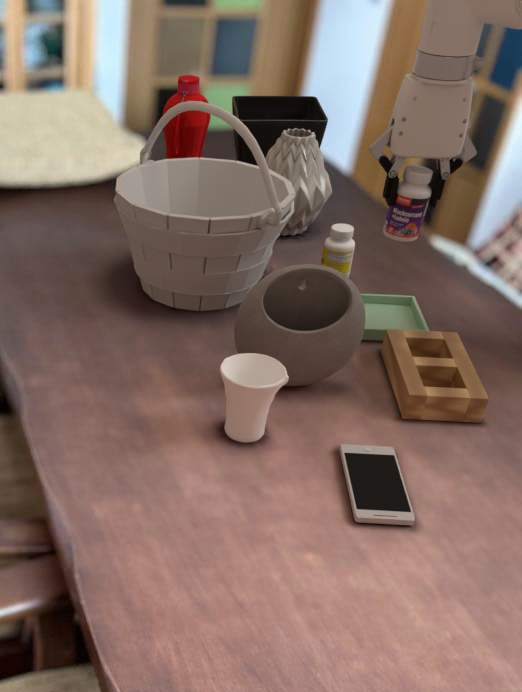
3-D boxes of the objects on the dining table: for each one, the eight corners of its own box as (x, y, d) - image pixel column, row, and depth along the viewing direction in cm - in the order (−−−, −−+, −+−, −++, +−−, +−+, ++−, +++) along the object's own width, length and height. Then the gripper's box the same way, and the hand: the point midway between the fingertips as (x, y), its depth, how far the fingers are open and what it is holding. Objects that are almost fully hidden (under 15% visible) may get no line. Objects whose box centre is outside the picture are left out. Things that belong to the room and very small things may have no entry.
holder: (450, 355, 132) (457, 332, 129) (480, 422, 117) (489, 398, 114) (380, 351, 132) (386, 328, 129) (402, 418, 118) (409, 394, 115)
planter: (229, 395, 122) (243, 273, 109) (226, 370, 127) (240, 252, 114) (354, 399, 121) (383, 278, 109) (347, 374, 126) (374, 256, 114)
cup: (265, 457, 110) (276, 392, 104) (202, 437, 114) (208, 373, 107) (288, 425, 116) (300, 362, 109) (228, 406, 119) (235, 344, 113)
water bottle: (151, 210, 177) (156, 80, 160) (168, 194, 184) (175, 68, 168) (191, 217, 174) (201, 86, 157) (207, 200, 182) (218, 73, 165)
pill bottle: (381, 239, 124) (400, 172, 118) (381, 226, 128) (399, 161, 122) (418, 245, 123) (439, 177, 117) (417, 232, 127) (437, 166, 121)
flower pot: (229, 200, 182) (237, 117, 171) (224, 172, 196) (231, 94, 185) (315, 202, 181) (329, 120, 170) (304, 174, 196) (316, 96, 184)
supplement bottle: (324, 271, 155) (333, 219, 148) (351, 278, 153) (363, 225, 146) (313, 282, 151) (323, 229, 145) (342, 289, 149) (353, 235, 143)
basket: (198, 235, 167) (211, 69, 147) (328, 299, 146) (364, 115, 126) (72, 272, 153) (68, 94, 133) (196, 348, 132) (213, 150, 112)
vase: (238, 238, 166) (249, 140, 154) (254, 210, 178) (265, 117, 165) (319, 249, 162) (336, 149, 150) (329, 220, 174) (347, 125, 162)
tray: (411, 306, 144) (414, 295, 143) (427, 343, 134) (430, 331, 133) (312, 301, 145) (314, 291, 144) (320, 337, 135) (323, 326, 134)
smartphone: (392, 451, 111) (393, 445, 111) (414, 526, 100) (416, 520, 99) (338, 448, 112) (340, 443, 111) (354, 522, 100) (356, 516, 100)
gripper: (499, 61, 113) (461, 196, 125) (373, 58, 114) (347, 193, 126) (515, 75, 107) (474, 214, 119) (383, 71, 108) (355, 211, 120)
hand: (409, 202), depth 123 cm, fingers closed on pill bottle, 5 cm apart
